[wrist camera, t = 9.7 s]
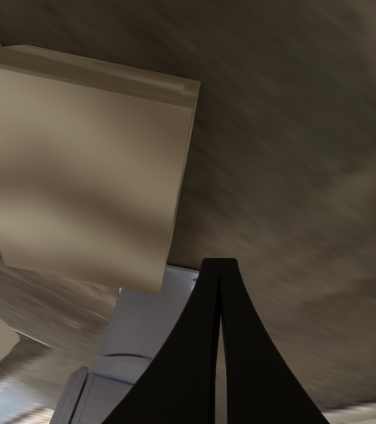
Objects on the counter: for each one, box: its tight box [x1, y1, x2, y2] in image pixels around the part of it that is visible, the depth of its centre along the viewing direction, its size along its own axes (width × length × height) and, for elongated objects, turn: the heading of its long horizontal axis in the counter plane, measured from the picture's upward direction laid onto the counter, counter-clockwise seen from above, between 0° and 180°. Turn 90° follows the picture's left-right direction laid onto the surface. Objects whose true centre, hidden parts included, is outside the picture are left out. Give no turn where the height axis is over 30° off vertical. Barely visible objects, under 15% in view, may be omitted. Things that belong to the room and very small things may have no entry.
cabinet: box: [0, 44, 201, 295], centre depth 18 cm, size 13×11×6 cm
